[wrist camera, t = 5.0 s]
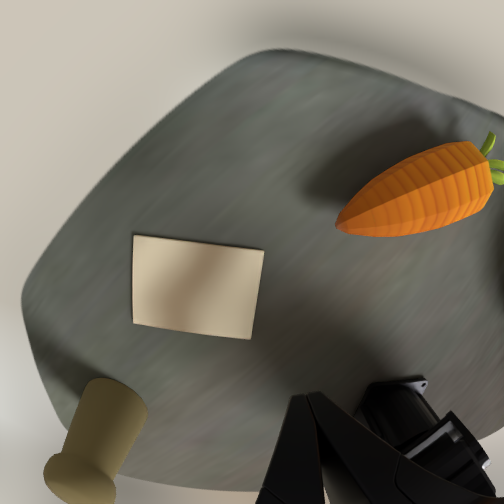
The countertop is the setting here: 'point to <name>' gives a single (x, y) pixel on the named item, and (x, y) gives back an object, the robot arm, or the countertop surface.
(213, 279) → the beige rectangular sheet
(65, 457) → the cork
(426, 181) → the carrot
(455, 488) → the robot arm
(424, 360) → the countertop surface
